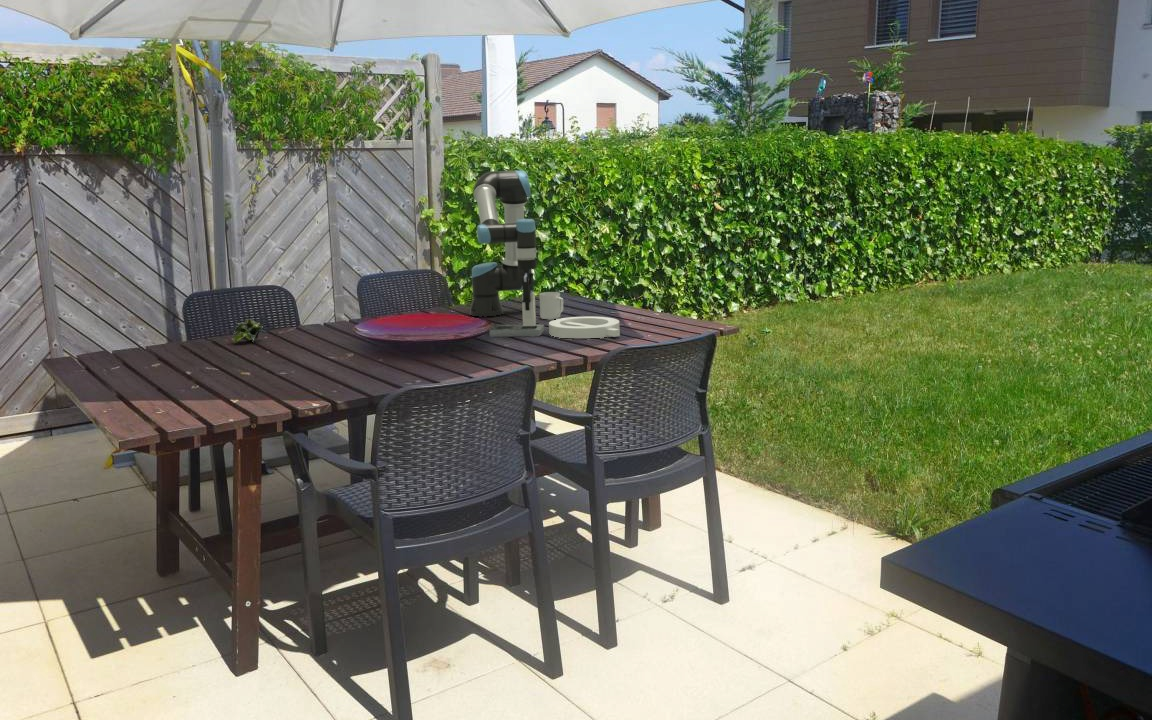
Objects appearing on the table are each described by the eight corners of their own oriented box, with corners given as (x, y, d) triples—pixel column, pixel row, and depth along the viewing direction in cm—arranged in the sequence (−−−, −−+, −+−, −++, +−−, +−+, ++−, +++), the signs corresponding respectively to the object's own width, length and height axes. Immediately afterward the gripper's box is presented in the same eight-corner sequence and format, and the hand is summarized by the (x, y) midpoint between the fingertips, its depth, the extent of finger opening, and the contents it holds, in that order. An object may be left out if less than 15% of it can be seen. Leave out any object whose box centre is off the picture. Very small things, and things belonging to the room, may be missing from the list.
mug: (536, 319, 409) (535, 293, 407) (550, 316, 416) (549, 291, 413) (556, 321, 401) (555, 295, 399) (570, 318, 408) (569, 293, 405)
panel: (495, 330, 383) (495, 324, 382) (544, 330, 381) (544, 324, 380) (489, 336, 370) (489, 330, 370) (539, 336, 368) (539, 330, 367)
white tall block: (524, 324, 377) (523, 290, 374) (535, 324, 376) (534, 290, 373) (523, 326, 372) (521, 291, 369) (534, 326, 372) (532, 291, 369)
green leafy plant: (252, 354, 377) (266, 328, 379) (257, 353, 367) (272, 326, 370) (226, 341, 372) (240, 314, 375) (230, 340, 362) (245, 312, 365)
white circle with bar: (620, 339, 359) (620, 327, 358) (547, 341, 359) (547, 329, 358) (618, 327, 386) (618, 315, 385) (550, 328, 387) (550, 317, 386)
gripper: (533, 260, 360) (535, 320, 365) (539, 256, 377) (541, 313, 382) (513, 261, 361) (516, 321, 365) (521, 256, 378) (523, 313, 382)
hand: (529, 317), depth 373 cm, fingers closed on white tall block, 4 cm apart
